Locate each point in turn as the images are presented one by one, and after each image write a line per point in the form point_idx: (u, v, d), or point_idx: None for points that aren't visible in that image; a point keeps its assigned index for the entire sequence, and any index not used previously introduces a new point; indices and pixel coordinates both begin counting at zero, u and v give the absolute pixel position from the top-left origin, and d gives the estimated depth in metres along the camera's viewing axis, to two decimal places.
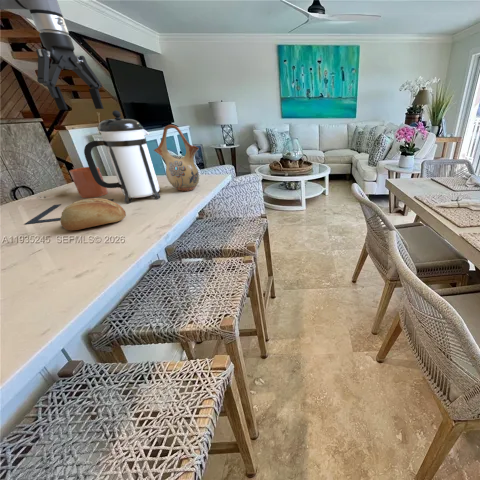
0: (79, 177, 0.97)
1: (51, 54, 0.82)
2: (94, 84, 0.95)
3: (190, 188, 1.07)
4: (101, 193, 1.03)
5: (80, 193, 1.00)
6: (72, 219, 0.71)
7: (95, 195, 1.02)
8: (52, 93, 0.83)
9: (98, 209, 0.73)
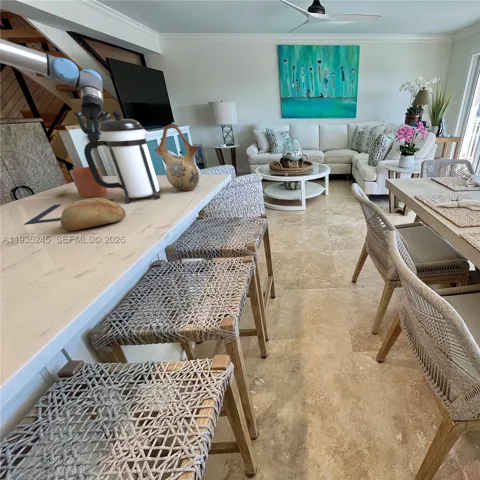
0: (79, 177, 0.97)
1: None
2: None
3: (190, 188, 1.07)
4: (101, 193, 1.03)
5: (80, 193, 1.00)
6: (72, 219, 0.71)
7: (95, 195, 1.02)
8: (98, 137, 1.13)
9: (98, 209, 0.73)
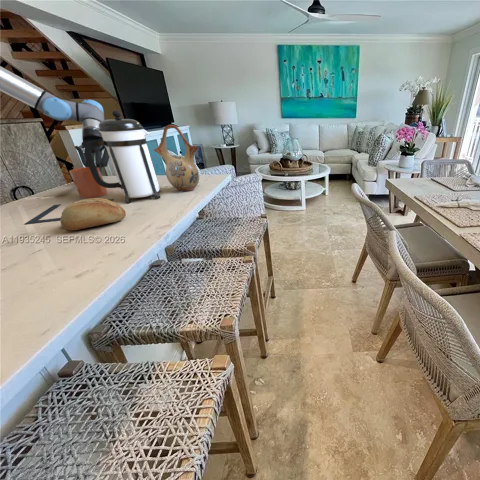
0: (79, 178, 0.97)
1: (105, 146, 1.14)
2: None
3: (190, 188, 1.07)
4: (101, 193, 1.03)
5: (80, 193, 1.00)
6: (72, 219, 0.71)
7: (95, 195, 1.01)
8: (101, 171, 1.09)
9: (98, 209, 0.73)
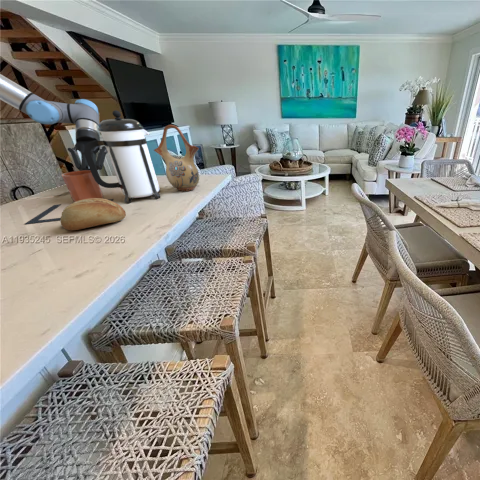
0: (72, 182, 0.92)
1: None
2: None
3: (190, 188, 1.07)
4: None
5: (73, 198, 0.95)
6: (72, 219, 0.71)
7: None
8: None
9: (98, 209, 0.73)
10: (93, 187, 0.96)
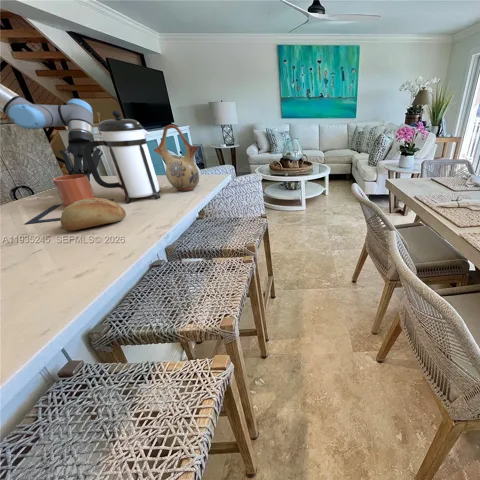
0: (64, 187, 0.86)
1: None
2: None
3: (190, 188, 1.07)
4: None
5: (65, 204, 0.89)
6: (72, 219, 0.71)
7: None
8: (89, 178, 0.98)
9: (98, 209, 0.73)
10: (87, 192, 0.91)
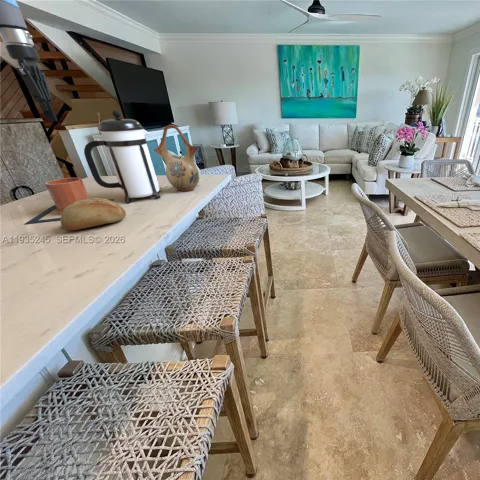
0: (57, 191, 0.82)
1: (26, 67, 0.91)
2: (47, 96, 0.99)
3: (190, 188, 1.07)
4: None
5: (59, 209, 0.85)
6: (72, 219, 0.71)
7: None
8: (44, 107, 0.98)
9: (98, 209, 0.73)
10: (81, 196, 0.86)
